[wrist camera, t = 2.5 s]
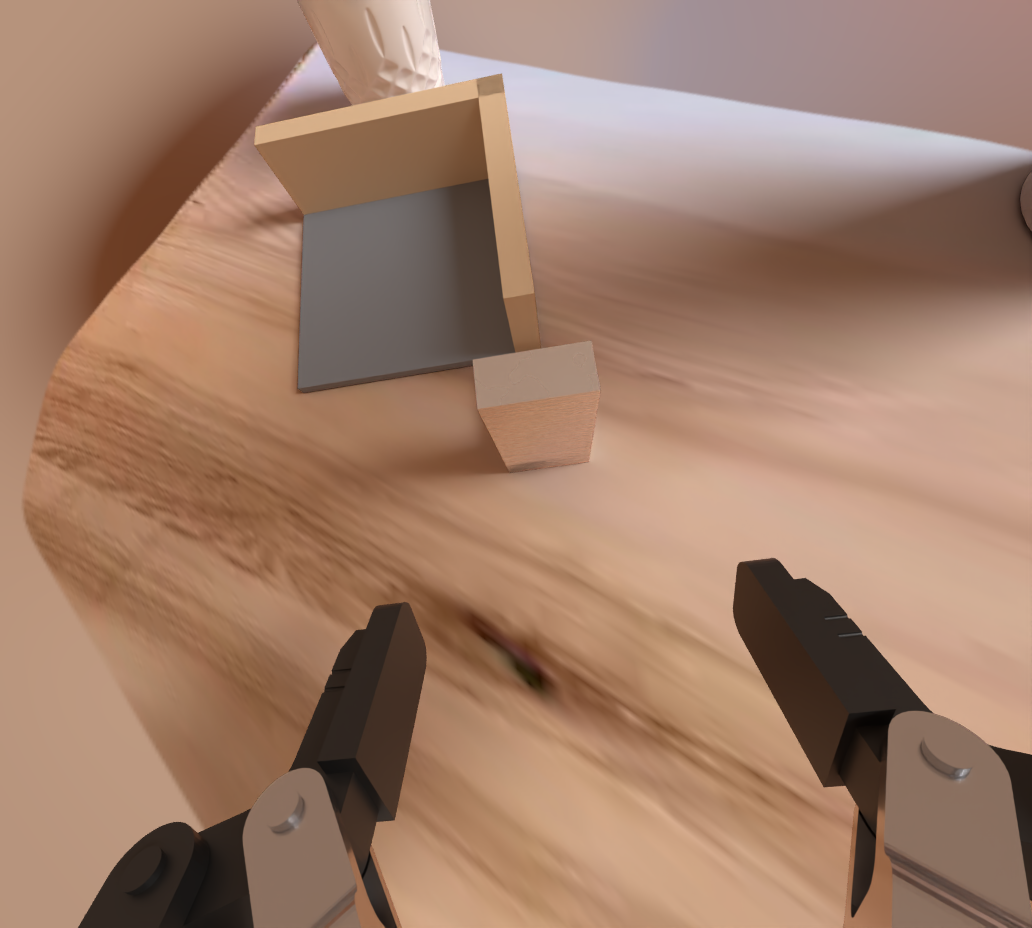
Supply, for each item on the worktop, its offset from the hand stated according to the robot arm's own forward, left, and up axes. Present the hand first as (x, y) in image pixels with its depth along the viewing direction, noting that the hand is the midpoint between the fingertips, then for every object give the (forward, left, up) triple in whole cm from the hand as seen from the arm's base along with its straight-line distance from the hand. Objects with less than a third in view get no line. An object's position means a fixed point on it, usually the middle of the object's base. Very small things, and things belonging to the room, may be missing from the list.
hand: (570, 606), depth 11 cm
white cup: (+7, -36, -12) cm, 39 cm away
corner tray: (+7, -21, -12) cm, 25 cm away
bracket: (0, -10, -12) cm, 15 cm away
